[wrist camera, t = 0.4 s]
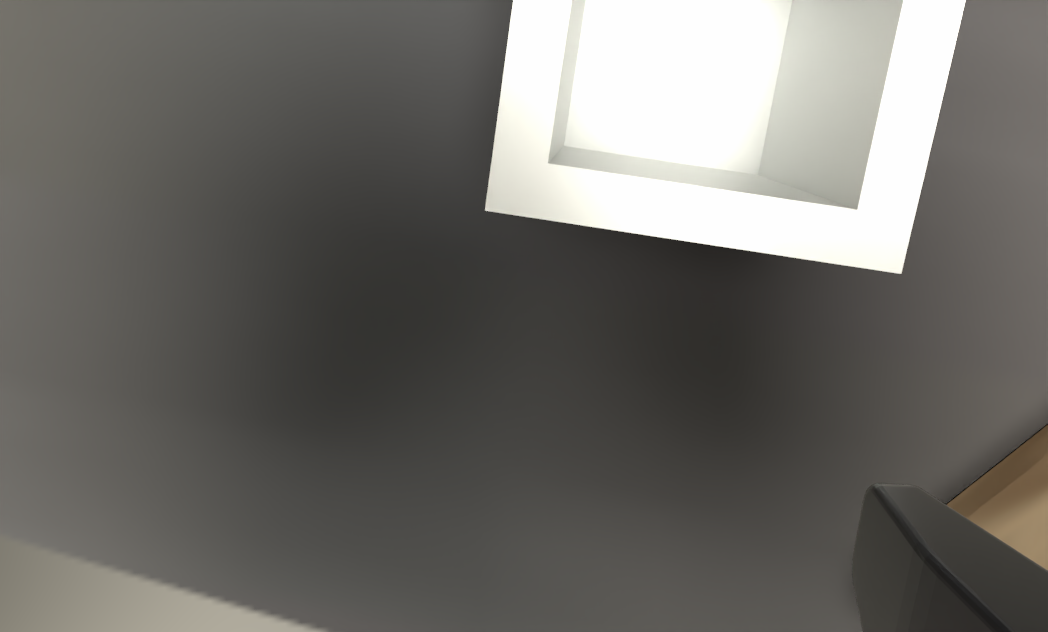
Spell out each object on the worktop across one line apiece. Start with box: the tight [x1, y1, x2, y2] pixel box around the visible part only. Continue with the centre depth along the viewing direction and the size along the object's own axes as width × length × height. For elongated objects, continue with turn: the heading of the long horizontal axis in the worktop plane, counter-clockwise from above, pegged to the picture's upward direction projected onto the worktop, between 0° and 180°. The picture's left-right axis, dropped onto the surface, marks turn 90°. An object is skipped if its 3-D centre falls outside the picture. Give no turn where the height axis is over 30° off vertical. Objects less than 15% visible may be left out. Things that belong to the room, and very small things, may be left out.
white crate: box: [485, 0, 966, 274], centre depth 17 cm, size 6×6×9 cm
